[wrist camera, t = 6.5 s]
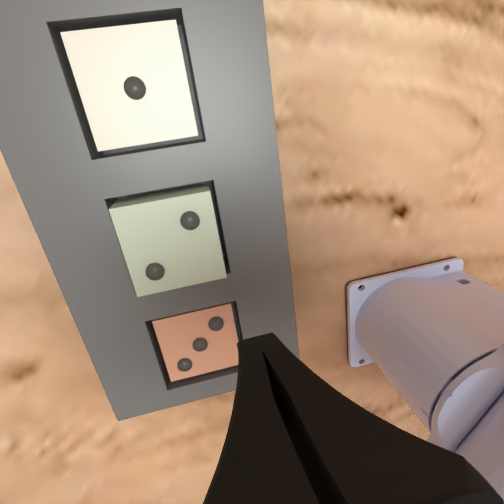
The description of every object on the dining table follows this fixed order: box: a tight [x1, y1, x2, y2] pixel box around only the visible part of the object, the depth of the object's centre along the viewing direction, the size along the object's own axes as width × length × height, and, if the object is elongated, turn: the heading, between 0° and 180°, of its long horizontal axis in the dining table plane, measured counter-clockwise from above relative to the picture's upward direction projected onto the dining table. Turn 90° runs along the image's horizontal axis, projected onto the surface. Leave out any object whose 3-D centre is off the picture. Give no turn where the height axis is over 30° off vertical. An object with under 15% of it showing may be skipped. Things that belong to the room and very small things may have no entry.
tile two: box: [109, 184, 227, 297], centre depth 16 cm, size 5×5×2 cm
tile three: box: [152, 302, 238, 382], centre depth 20 cm, size 5×5×2 cm
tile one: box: [60, 19, 198, 151], centre depth 15 cm, size 5×5×2 cm
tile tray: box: [0, 0, 300, 421], centre depth 18 cm, size 12×22×4 cm, turn 8°
